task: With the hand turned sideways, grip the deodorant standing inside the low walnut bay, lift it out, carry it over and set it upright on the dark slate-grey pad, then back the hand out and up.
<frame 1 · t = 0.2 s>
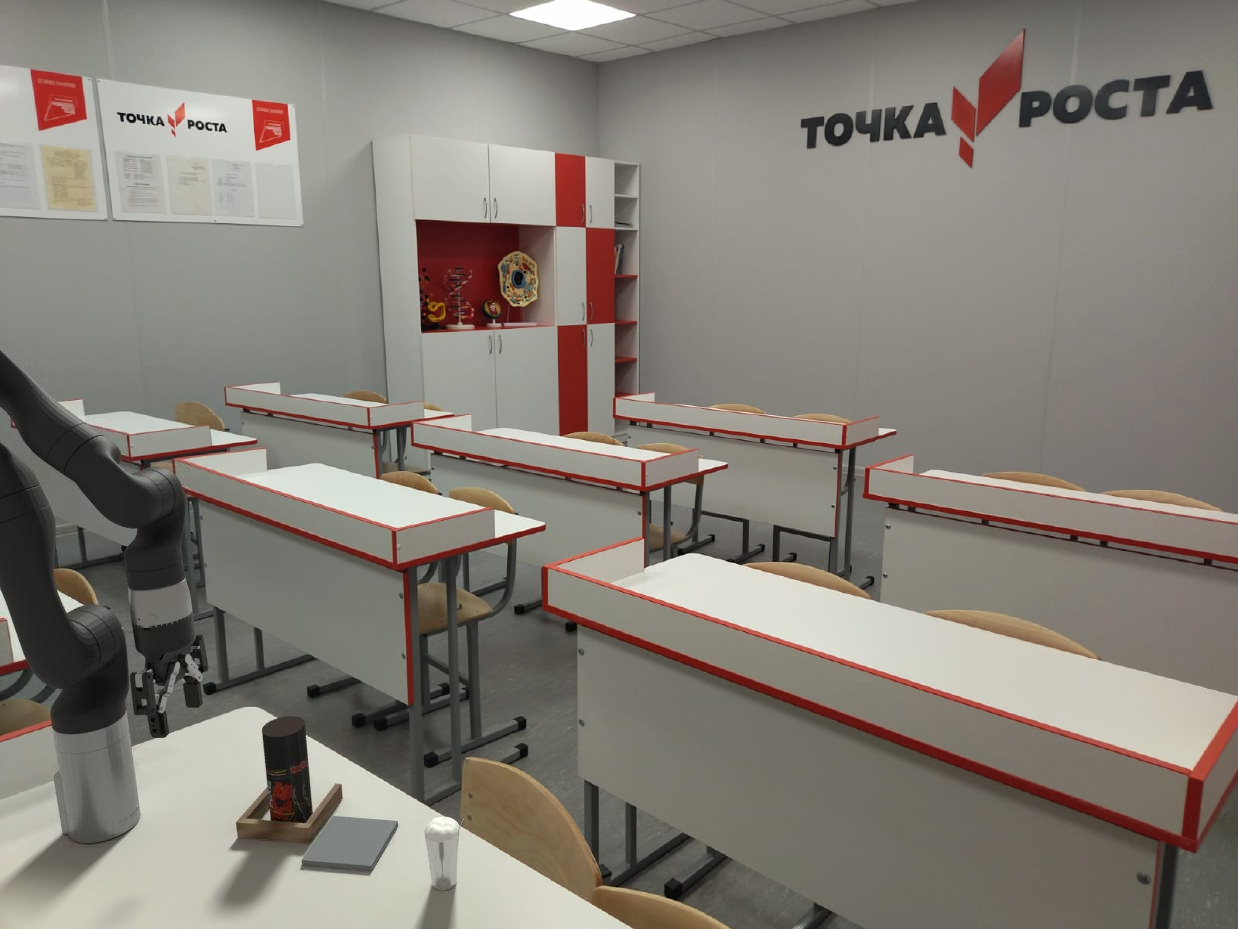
hand: (178, 721, 125), 18 cm above the table, tool pointing down, fingers open, 8 cm apart
walnut bay: (292, 817, 132), on the table
deodorant: (292, 818, 132), on the table
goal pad: (351, 844, 126), on the table
milkshake: (447, 884, 118), on the table
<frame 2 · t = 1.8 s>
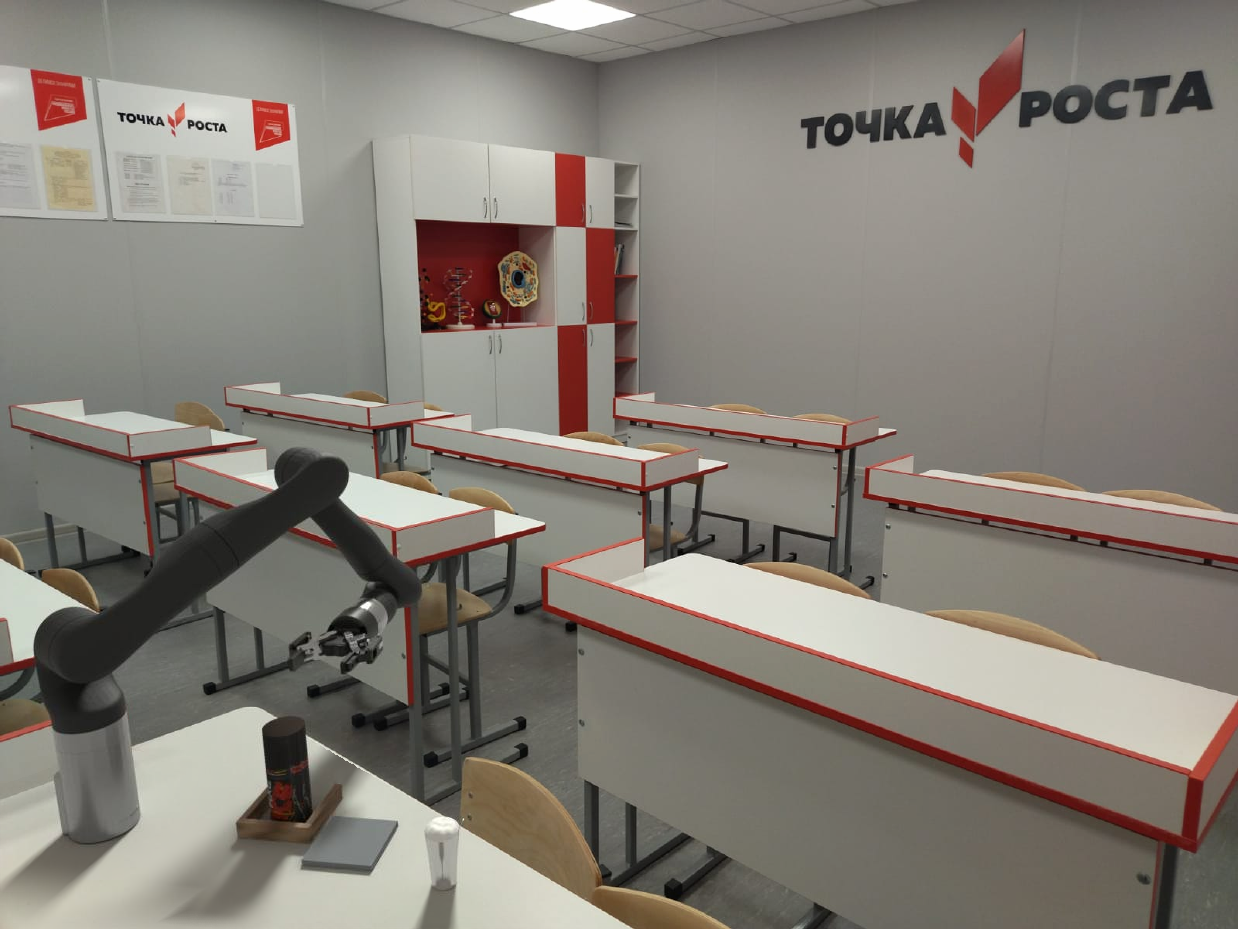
hand: (316, 667, 138), 19 cm above the table, tool horizontal, fingers open, 8 cm apart
nothing on the table moved.
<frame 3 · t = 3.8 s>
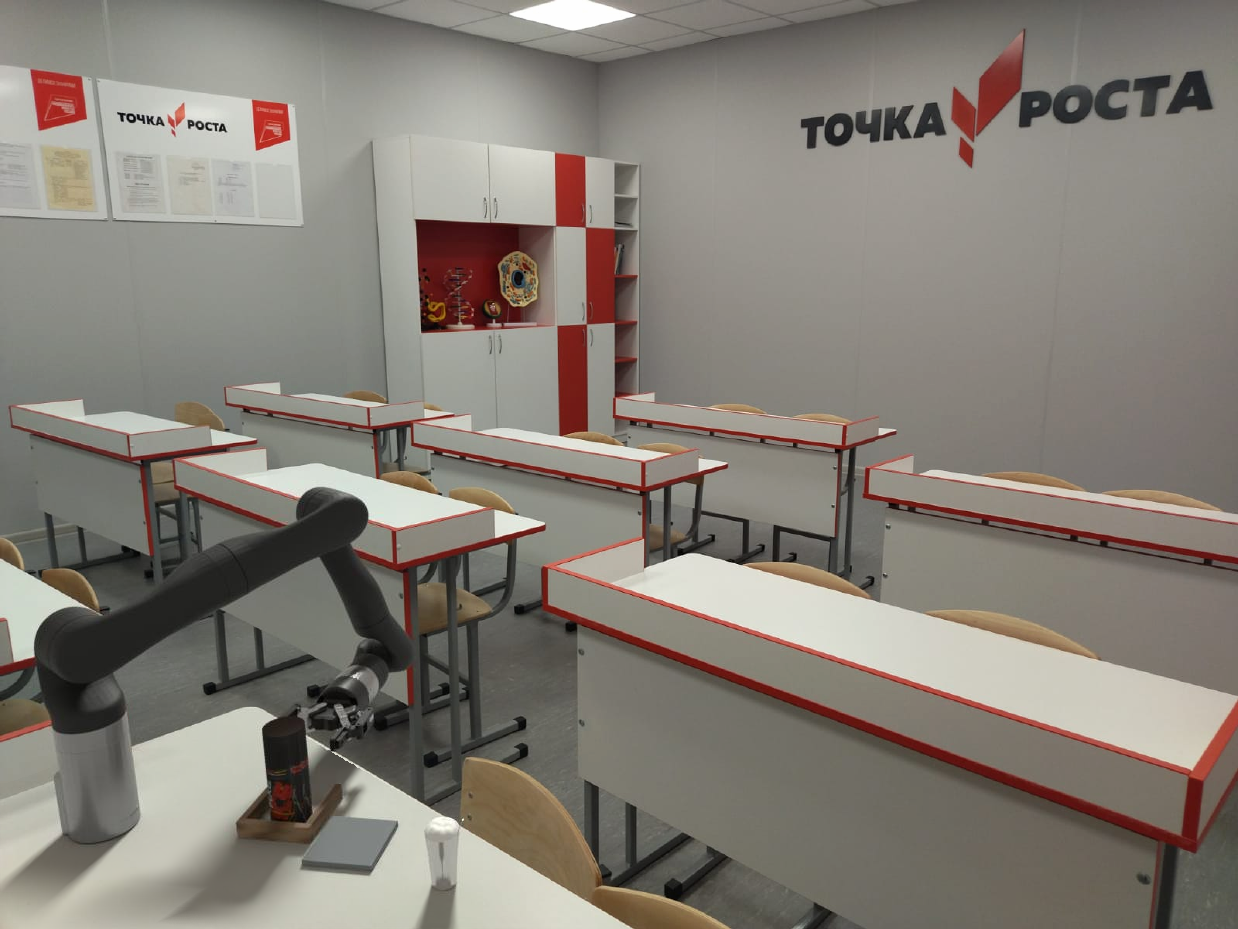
hand: (305, 744, 136), 8 cm above the table, tool horizontal, fingers open, 8 cm apart
nothing on the table moved.
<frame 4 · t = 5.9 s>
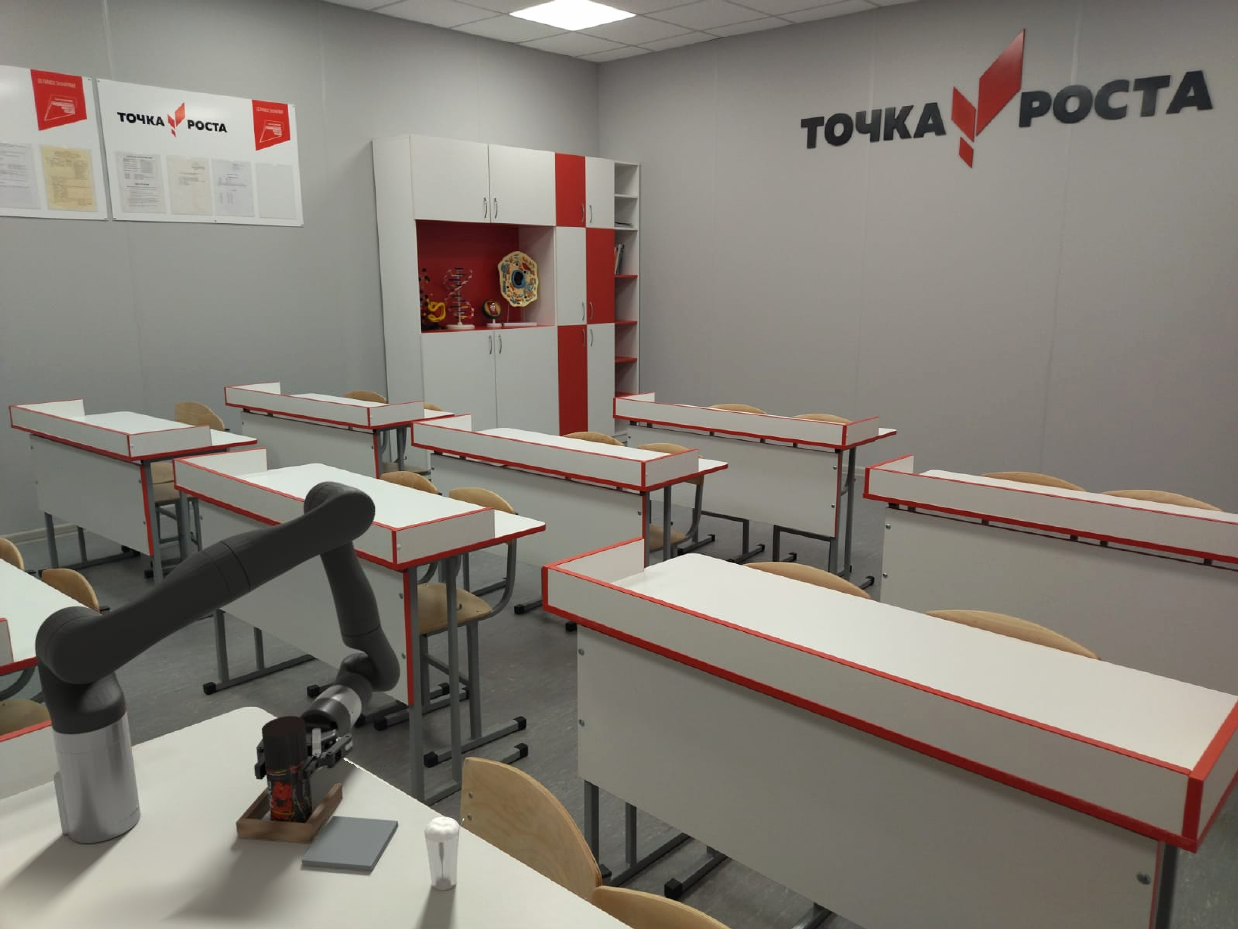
hand: (279, 775, 128), 9 cm above the table, tool horizontal, fingers closed on deodorant, 6 cm apart
deodorant: (292, 818, 132), on the table, touching gripper
everything else where it was.
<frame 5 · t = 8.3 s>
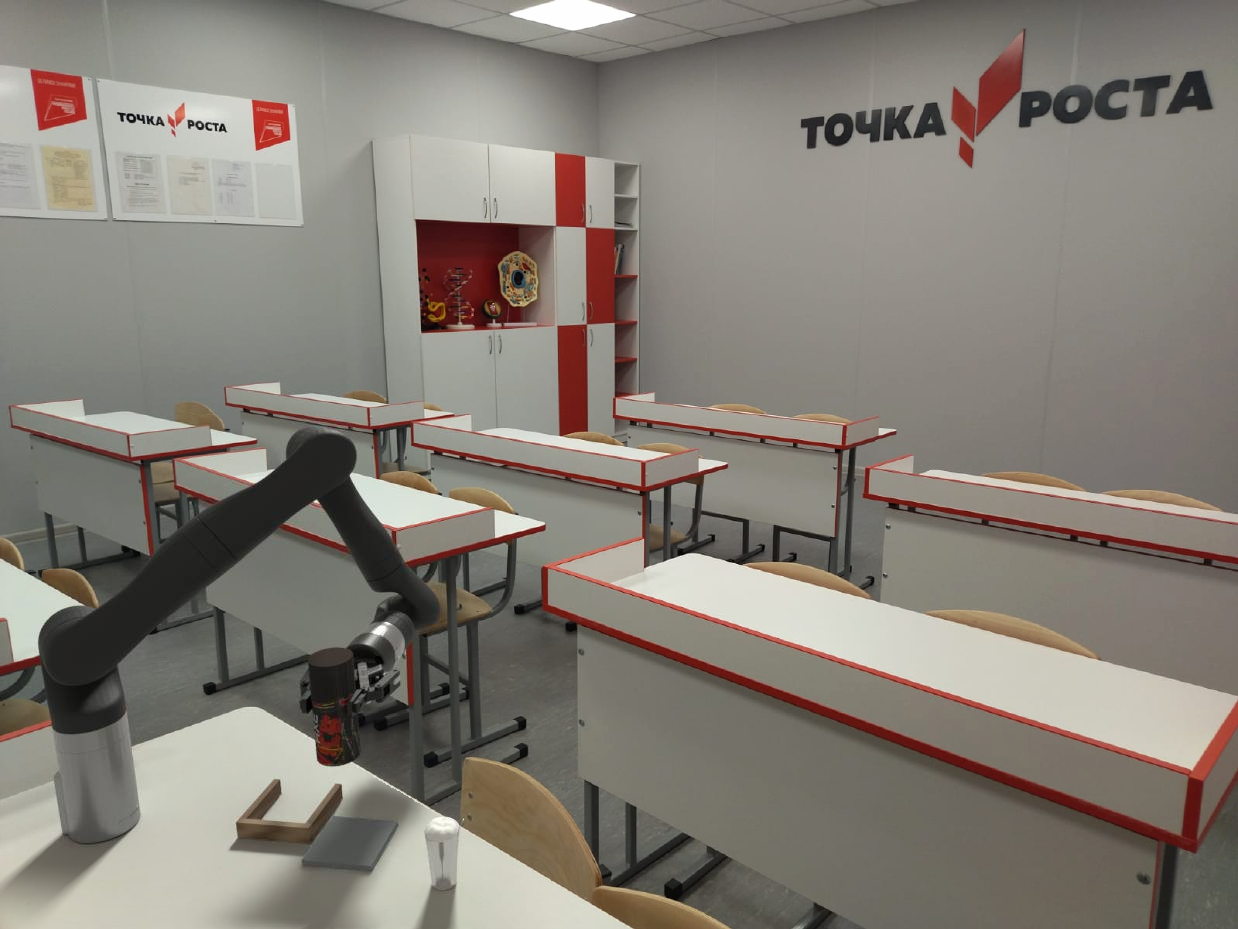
hand: (326, 708, 120), 22 cm above the table, tool horizontal, fingers closed on deodorant, 6 cm apart
deodorant: (338, 756, 124), point 13 cm above the table, touching gripper
everything else where it was.
when the fingers open (10 cm above the table, at t = 11.1 s): deodorant drops 1 cm, resting on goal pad.
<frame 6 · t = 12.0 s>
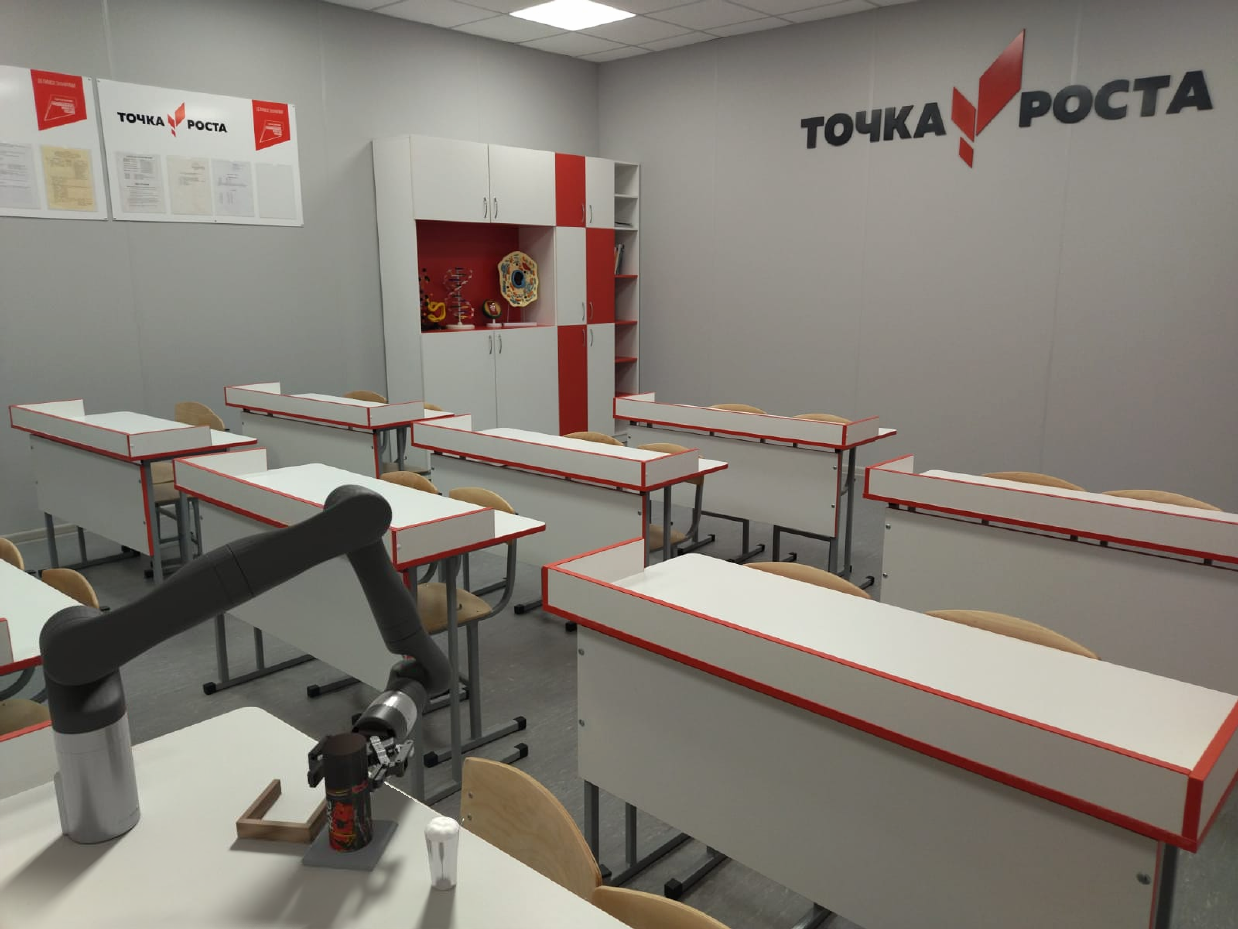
hand: (340, 784, 121), 11 cm above the table, tool horizontal, fingers open, 8 cm apart
deodorant: (351, 840, 126), point 1 cm above the table, touching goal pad
everything else where it was.
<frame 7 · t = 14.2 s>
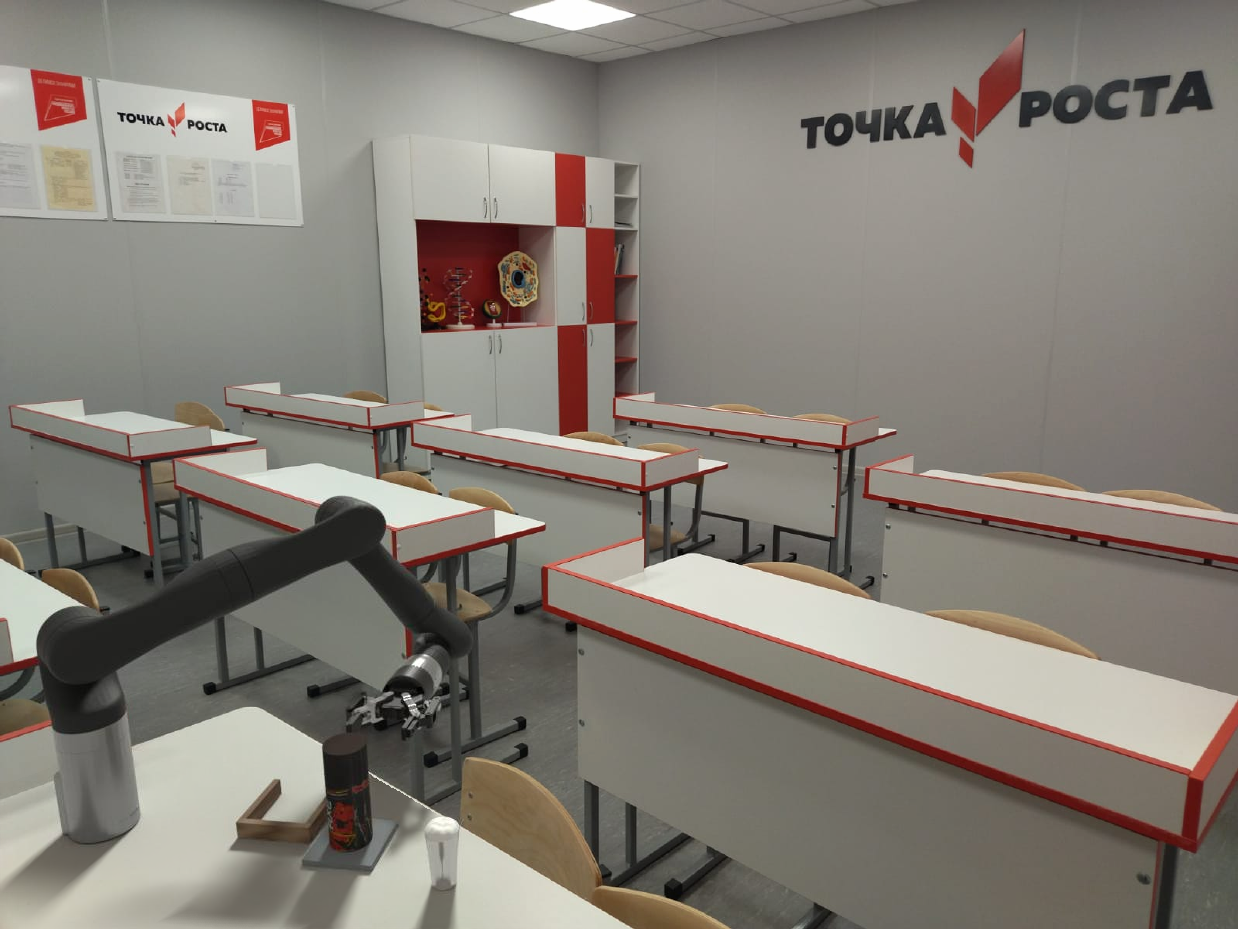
hand: (376, 733, 134), 11 cm above the table, tool horizontal, fingers open, 8 cm apart
nothing on the table moved.
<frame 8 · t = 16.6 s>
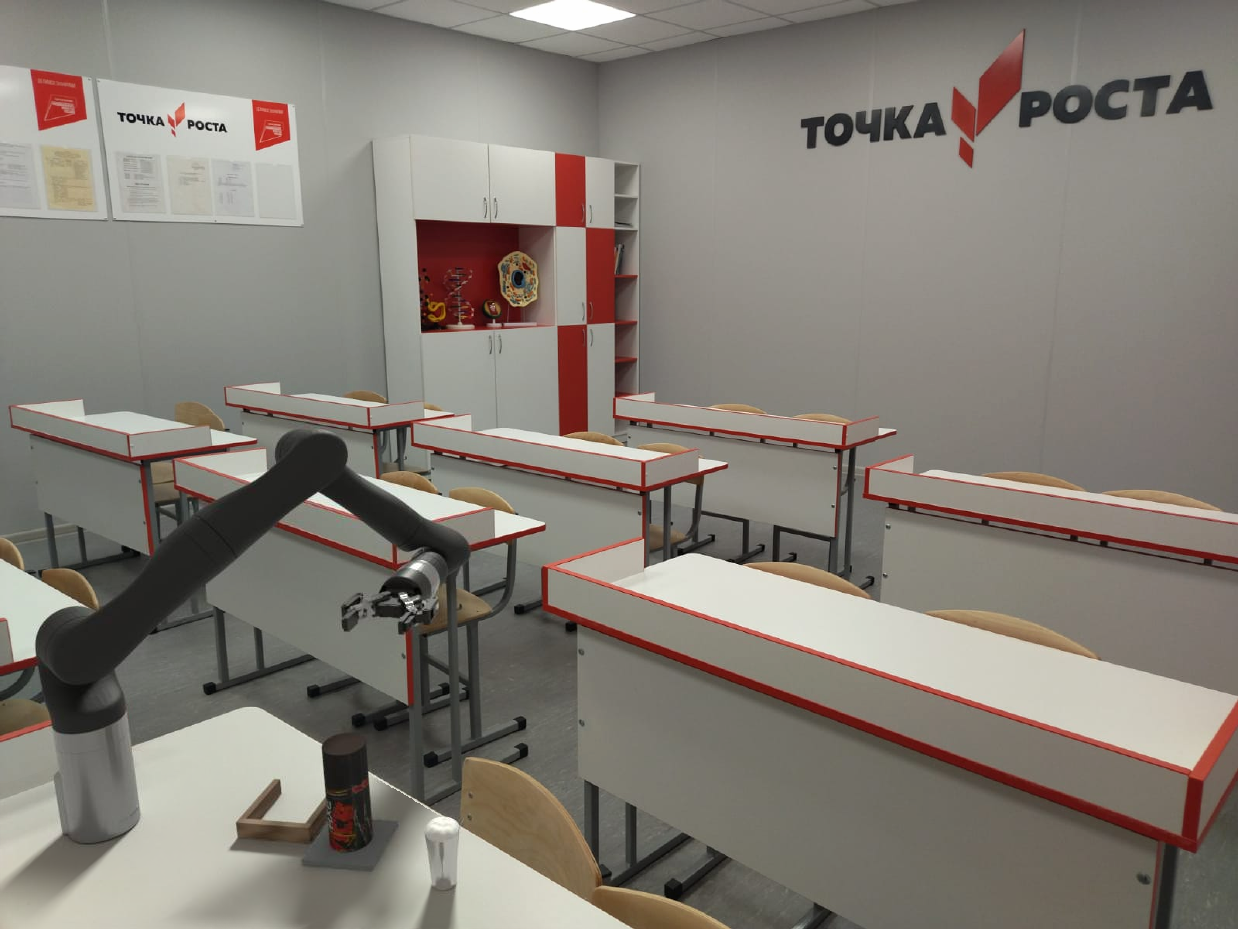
hand: (372, 627, 131), 28 cm above the table, tool horizontal, fingers open, 8 cm apart
nothing on the table moved.
at the end: deodorant 0.2 cm off-centre on the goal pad, point 0.6 cm above the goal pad's base; deodorant tilted 0°; the gripper is holding nothing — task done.
